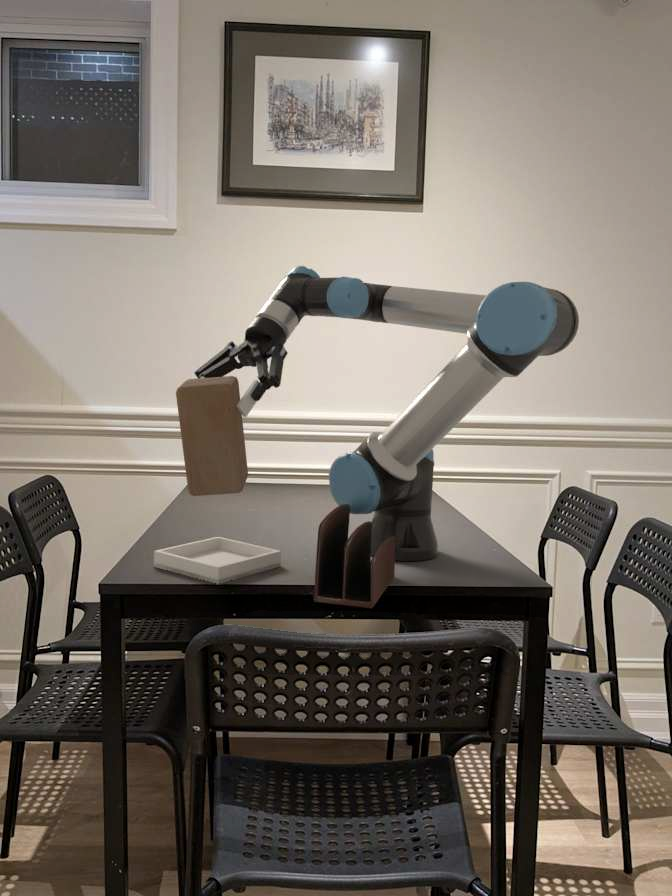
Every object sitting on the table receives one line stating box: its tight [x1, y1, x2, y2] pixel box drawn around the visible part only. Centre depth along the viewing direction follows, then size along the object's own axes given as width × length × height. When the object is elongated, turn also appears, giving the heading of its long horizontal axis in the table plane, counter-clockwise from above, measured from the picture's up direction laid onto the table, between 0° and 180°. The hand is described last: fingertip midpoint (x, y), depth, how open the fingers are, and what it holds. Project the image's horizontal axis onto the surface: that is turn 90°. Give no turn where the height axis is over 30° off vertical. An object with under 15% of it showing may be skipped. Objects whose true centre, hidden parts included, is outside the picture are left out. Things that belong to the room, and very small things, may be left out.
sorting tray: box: [153, 536, 282, 585], centre depth 149 cm, size 17×17×3 cm
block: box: [175, 375, 249, 497], centre depth 145 cm, size 10×10×20 cm
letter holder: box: [313, 504, 396, 609], centre depth 137 cm, size 10×20×14 cm, turn 165°
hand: (213, 409), depth 144 cm, fingers closed on block, 13 cm apart
